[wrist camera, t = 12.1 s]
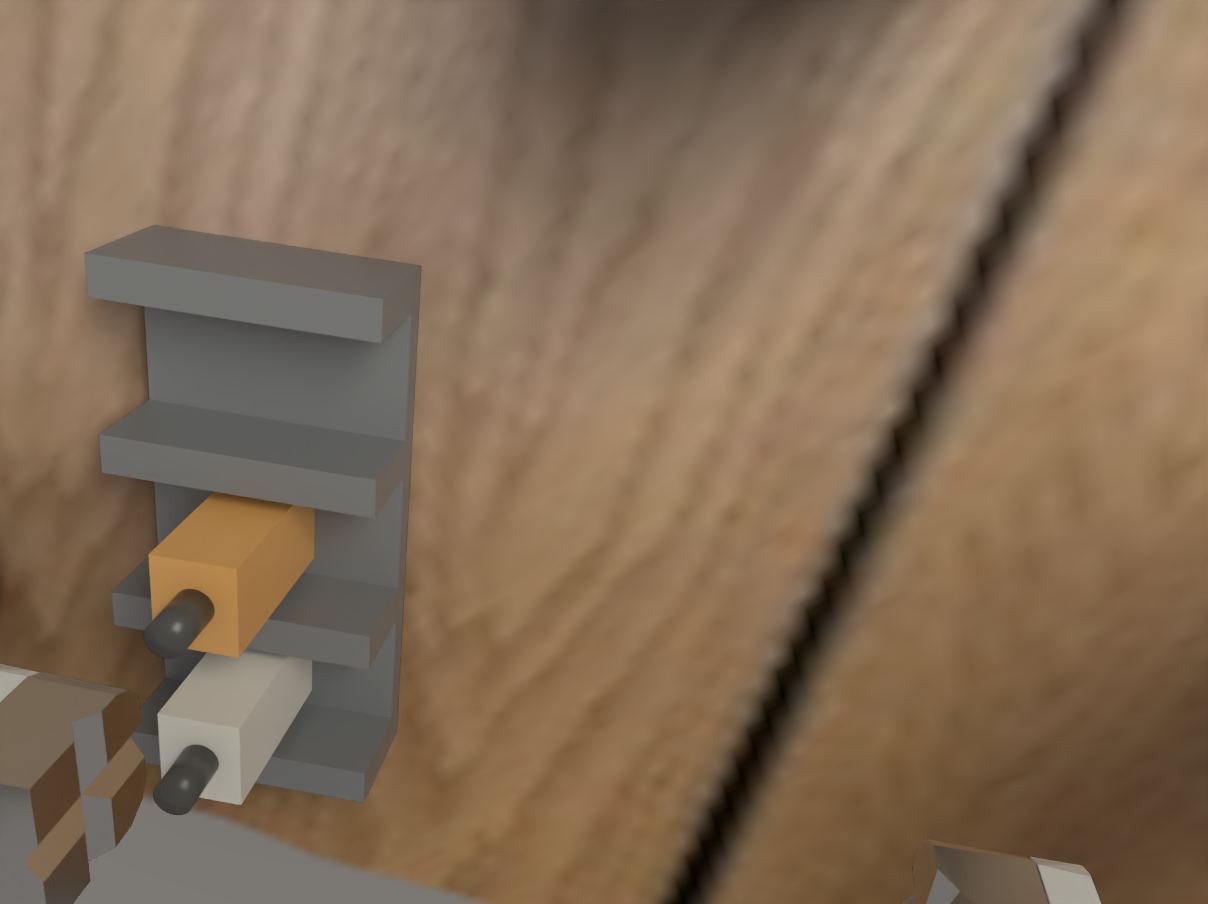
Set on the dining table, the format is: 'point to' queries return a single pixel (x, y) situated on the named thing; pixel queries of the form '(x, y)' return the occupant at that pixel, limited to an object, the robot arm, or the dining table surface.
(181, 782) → the white plug
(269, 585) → the orange plug
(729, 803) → the dining table surface
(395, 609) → the rack
